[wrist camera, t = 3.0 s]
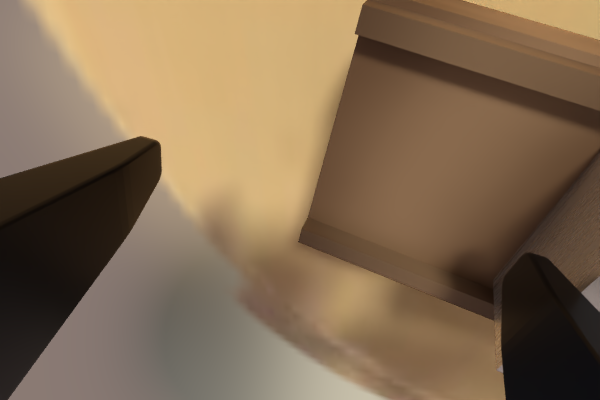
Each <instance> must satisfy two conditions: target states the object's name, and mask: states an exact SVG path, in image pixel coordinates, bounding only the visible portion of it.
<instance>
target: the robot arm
mask: <svg viewBox="0 0 600 400" xmlns="http://www.w3.org/2000/svg"><path fill="white" fill-rule="evenodd" d="M161 172H162V166H161V145H160V143H159V142H158V141H157V140H154V139H150V138H147V137H143V136H140V137H136V138H133V139H129V140H126V141H123V142H120V143H116V144H113V145H110V146H106V147H103V148H99V149H97V150H93V151H90V152H86V153H83V154H80V155H76V156H73V157H70V158H66V159H63V160H59V161H56V162H53V163H49V164H46V165H43V166H40V167H36V168H33V169H30V170H26V171H23V172H19V173H16V174H13V175H9V176H6V177H3V178H0V400H8V399H9V397H10V396H11V395H12V393H13V392H14V391H15V389H16V388H17V386H18V385H19V384H20V382H21V381H22V380H23V378H24V377H25V375H26V374H27V373H28V371H29V370H30V369H31V367H32V366H33V364H34V363H35V362H36V360H37V359H38V358H39V356H40V355H41V353H42V352H43V351H44V349H45V348H46V347H47V345H48V344H49V343H50V341H51V340H52V338H53V337H54V336H55V334H56V333H57V332H58V330H59V329H60V327H61V326H62V325H63V324H64V322H65V321H66V319H67V318H68V317H69V315H70V314H71V313H72V311H73V310H74V308H75V307H76V306H77V304H78V303H79V301H80V300H81V299H82V297H83V296H84V295H85V293H86V292H87V291H88V289H89V288H90V287H91V285H92V284H93V282H94V281H95V280H96V278H97V277H98V276H99V274H100V273H101V271H102V270H103V269H104V267H105V266H106V265H107V263H108V262H109V261H110V259H111V258H112V257H113V255H114V254H115V252H116V251H117V249H118V248H119V247H120V246H121V244H122V243H123V241H124V240H125V239H126V237H127V235H128V234H129V233H130V231H131V230H132V228H133V226H134V225H135V223H136V221H137V219H138V217H139V216H140V214H141V212H142V210H143V208H144V207H145V205H146V203H147V201H148V200H149V198H150V196H151V194H152V192H153V191H154V189H155V187H156V185H157V183H158V182H159V180H160V177H161ZM501 354H502V365H503V375H504V385H505V395H506V400H600V312H599V311H598V310H597V309H596V308H595V307H594V306H593V305H592V304H591V303H590V301H589V300H588V299H587V298H586V297H585V296H584V295H583V294H582V293H581V292H580V291H579V290H578V289H577V288H576V287H575V286H574V285H573V284H572V283H571V282H570V281H569V280H568V279H567V278H566V277H565V276H564V274H563V273H562V272H561V271H560V270H559V269H558V268H557V267H556V266H555V265H554V264H553V263H552V262H551V261H550V260H549V259H548V258H546V257H544V256H541V255H537V254H534V253H531V252H527V253H524V254H523V255H522V256H521V257H520V258H519V259H518V260H517V262H516V263H515V264H514V265H513V266H512V268H511V269H510V270H509V271H508V272H507V273H506V275H505V277H504V279H503V282H502V303H501Z"/></svg>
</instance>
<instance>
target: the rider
mask: <svg viewBox="0 0 600 400" xmlns="http://www.w3.org/2000/svg"><path fill="white" fill-rule="evenodd" d="M527 252H531V253H534V254H537V255H541V256H544V257H546V258H548V259H549V260H550V261H551V262H552V263H553V264H554V265H555V266H556V267H557V268H558V269H559V270H560V271H561V272H562V273H563V274H564V276H565V277H566V278H567V279H568V280H569V281H570V282H571V283H572V284H573V285H574V286H575V287H576V288H577V289H578V290H579V291H580V292H581V293H582V294H583V295H584V296H585V297H586V298H587V299H588V300H589V301H590V303H591V304H592V305H593V306H594V307H595V308H596V309H597V310H598V311H599V312H600V152H599V153H598V154H597V155H596V157H595V158H594V159H593V160H592V161H591V163H590V164H589V165H588V166H587V167H586V169H585V170H584V171H583V172H582V173H581V175H580V176H579V177H578V178H577V179H576V181H575V182H574V183H573V184H572V185H571V187H570V188H569V189H568V190H567V192H566V193H565V194H564V195H563V196H562V198H561V199H560V200H559V201H558V202H557V204H556V205H555V206H554V207H553V208H552V210H551V211H550V212H549V213H548V214H547V216H546V217H545V218H544V219H543V220H542V222H541V223H540V224H539V225H538V227H537V228H536V229H535V230H534V231H533V233H532V234H531V235H530V236H529V237H528V239H527V240H526V241H525V242H524V243H523V245H522V246H521V247H520V248H519V249H518V251H517V252H516V253H515V254H514V255H513V257H512V258H511V259H510V260H509V262H508V263H507V264H506V265H505V266H504V268H503V269H502V270H501V271H500V272H499V274H498V275H497V276H496V277H495V278H494V280H493V292H494V321H495V350H496V370H497V371H499V372H502V373H503V365H502V354H501V303H502V282H503V279H504V277H505V275H506V273H507V272H508V271H509V270H510V269H511V268H512V266H513V265H514V264H515V263H516V262H517V260H518V259H519V258H520V257H521V256H522V255H523V254H524V253H527Z"/></svg>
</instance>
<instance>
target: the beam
mask: <svg viewBox="0 0 600 400" xmlns="http://www.w3.org/2000/svg"><path fill="white" fill-rule="evenodd" d="M355 34H357V35H359V36H358V40H357V43H356V47H355V50H354V54H353V58H352V61H351V65H350V68H349V72H348V75H347V79H346V83H345V86H344V90H343V93H342V97H341V101H340V104H339V108H338V111H337V115H336V119H335V122H334V126H333V129H332V133H331V137H330V140H329V144H328V147H327V151H326V154H325V158H324V162H323V165H322V169H321V172H320V176H319V180H318V183H317V187H316V190H315V194H314V198H313V201H312V205H311V208H310V212H309V216H308V218H307V220H306V222H305V224H304V226H303V228H302V230H301V234H300V237H299V241H298V242H300V243H302V244H305V245H307V246H310V247H312V248H315V249H317V250H320V251H322V252H325V253H327V254H330V255H332V256H335V257H337V258H340V259H342V260H345V261H347V262H349V263H352V264H354V265H357V266H359V267H362V268H364V269H367V270H369V271H372V272H374V273H377V274H379V275H382V276H384V277H387V278H389V279H392V280H394V281H397V282H399V283H402V284H404V285H407V286H409V287H412V288H414V289H417V290H419V291H422V292H424V293H427V294H429V295H432V296H434V297H437V298H439V299H442V300H444V301H447V302H449V303H452V304H454V305H457V306H459V307H461V308H464V309H466V310H469V311H471V312H474V313H476V314H479V315H481V316H484V317H486V318H489V319H491V320H494V292H493V280H494V278H495V277H496V276H497V275H498V274H499V272H500V271H501V270H502V269H503V268H504V266H505V265H506V264H507V263H508V262H509V260H510V259H511V258H512V257H513V255H514V254H515V253H516V252H517V251H518V249H519V248H520V247H521V246H522V245H523V243H524V242H525V241H526V240H527V239H528V237H529V236H530V235H531V234H532V233H533V231H534V230H535V229H536V228H537V227H538V225H539V224H540V223H541V222H542V220H543V219H544V218H545V217H546V216H547V214H548V213H549V212H550V211H551V210H552V208H553V207H554V206H555V205H556V204H557V202H558V201H559V200H560V199H561V198H562V196H563V195H564V194H565V193H566V192H567V190H568V189H569V188H570V187H571V185H572V184H573V183H574V182H575V181H576V179H577V178H578V177H579V176H580V175H581V173H582V172H583V171H584V170H585V169H586V167H587V166H588V165H589V164H590V163H591V161H592V160H593V159H594V158H595V157H596V155H597V154H598V153H599V152H600V40H597V39H593V38H590V37H587V36H583V35H580V34H576V33H573V32H569V31H566V30H562V29H559V28H556V27H552V26H549V25H545V24H542V23H538V22H535V21H531V20H528V19H525V18H521V17H518V16H514V15H511V14H507V13H504V12H500V11H497V10H494V9H490V8H487V7H483V6H480V5H476V4H473V3H469V2H466V1H463V0H367V1H366V2H365V3H364V4H363V5H362V9H361V13H360V17H359V20H358V24H357V28H356V31H355Z"/></svg>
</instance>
